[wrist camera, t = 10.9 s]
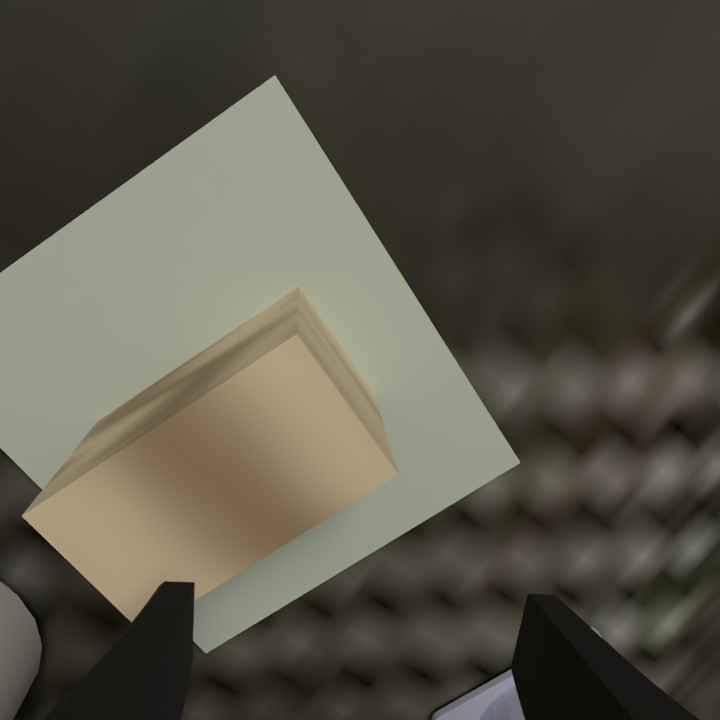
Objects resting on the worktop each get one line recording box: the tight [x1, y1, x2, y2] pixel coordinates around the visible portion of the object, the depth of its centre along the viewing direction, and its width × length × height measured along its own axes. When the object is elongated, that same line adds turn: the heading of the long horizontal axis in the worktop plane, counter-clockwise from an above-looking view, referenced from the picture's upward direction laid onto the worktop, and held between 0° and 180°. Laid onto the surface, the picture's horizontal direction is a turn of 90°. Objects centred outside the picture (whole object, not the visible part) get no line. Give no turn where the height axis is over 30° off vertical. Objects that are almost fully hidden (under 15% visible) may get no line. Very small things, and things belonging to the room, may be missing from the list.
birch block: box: [22, 286, 398, 622], centre depth 17 cm, size 8×4×6 cm, turn 123°
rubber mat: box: [0, 76, 520, 653], centre depth 20 cm, size 15×14×1 cm
